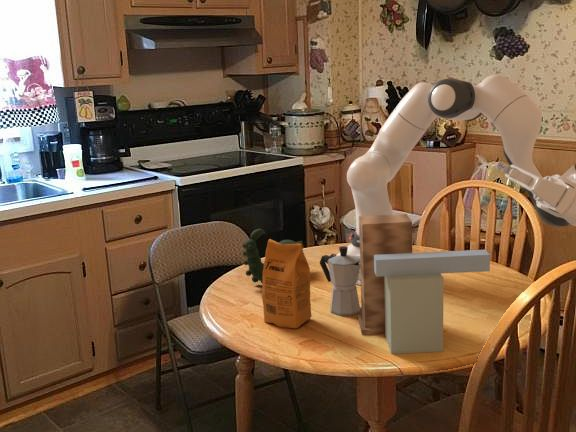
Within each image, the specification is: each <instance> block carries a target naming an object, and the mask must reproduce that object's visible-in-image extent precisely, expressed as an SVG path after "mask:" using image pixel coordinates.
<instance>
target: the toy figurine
mask: <svg viewBox="0 0 576 432" xmlns="http://www.w3.org/2000/svg"><path fill="white" fill-rule="evenodd" d="M261 235H264V236H265V235H266V231H265V230H264V229H262V228H257V229H255V230H253V231H252V232H251V233H250V239H247V240H246V241H245V242H244V243H243V244H242V245H241V247H242V248H243V249H245V250H244V251H242V256H244V257H246V258H247V259H246V260H243V265H245V266H248V269H247V270H246V271H245V276H247V277H250V276H251V275H252V277H251V281H252V282H253V283H258V282H260V284H263V269H264V262H262V259H261V256H260V255H259V249H258V248H257V243H256V241H258V240H259V238H260V237H261ZM303 241H304V240H298V241H294V240H291V239H282V240H281V241H279V242H278V243H280V244H283V245H284V244H303Z"/></svg>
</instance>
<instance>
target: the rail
mask: <svg viewBox="0 0 576 432" xmlns="http://www.w3.org/2000/svg"><path fill="white" fill-rule="evenodd" d="M490 270H491V254H490V252H488V251H487V250H486V249H469V250H468V249H467V250H449V251H448V250H447V251H446V250H445V251H428V252H426V251H425V252H424V251H423V252H412V253H403V254H382V255H374V272H375V274H376V277H380V276H401V275H422V274H441V275H442V274H459V273H461V274H463V273H480V272H482V273H484V272H491V271H490Z"/></svg>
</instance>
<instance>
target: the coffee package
mask: <svg viewBox="0 0 576 432" xmlns="http://www.w3.org/2000/svg"><path fill="white" fill-rule="evenodd" d="M267 240H268V241H267V245H266V249H265V254H264V255H265V256H264V262H263V263H264V269H263V284H262V283H261V284H262V289H261V291H262V293H261V299H262V304H263V305H262V306H263V320H264V323H268V324H274V325H276V326H277V327H279V328H284V329H285V328H286V329H298V328H299V327H301V326H302V325H303V324H305V323H306V322H307V321H309V320H310V319H311V318H312V304H311V279H310V277H311V275H310V274H311V269H310V266H309V262H308V260H307V258H306V255H305V252H304V250H303V249H304V248H305V246H304V244H303V243H302V244H284V245H283V244H280V243H279V242H278V241H276V240H273V239H271V238H269V239H267Z"/></svg>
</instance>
